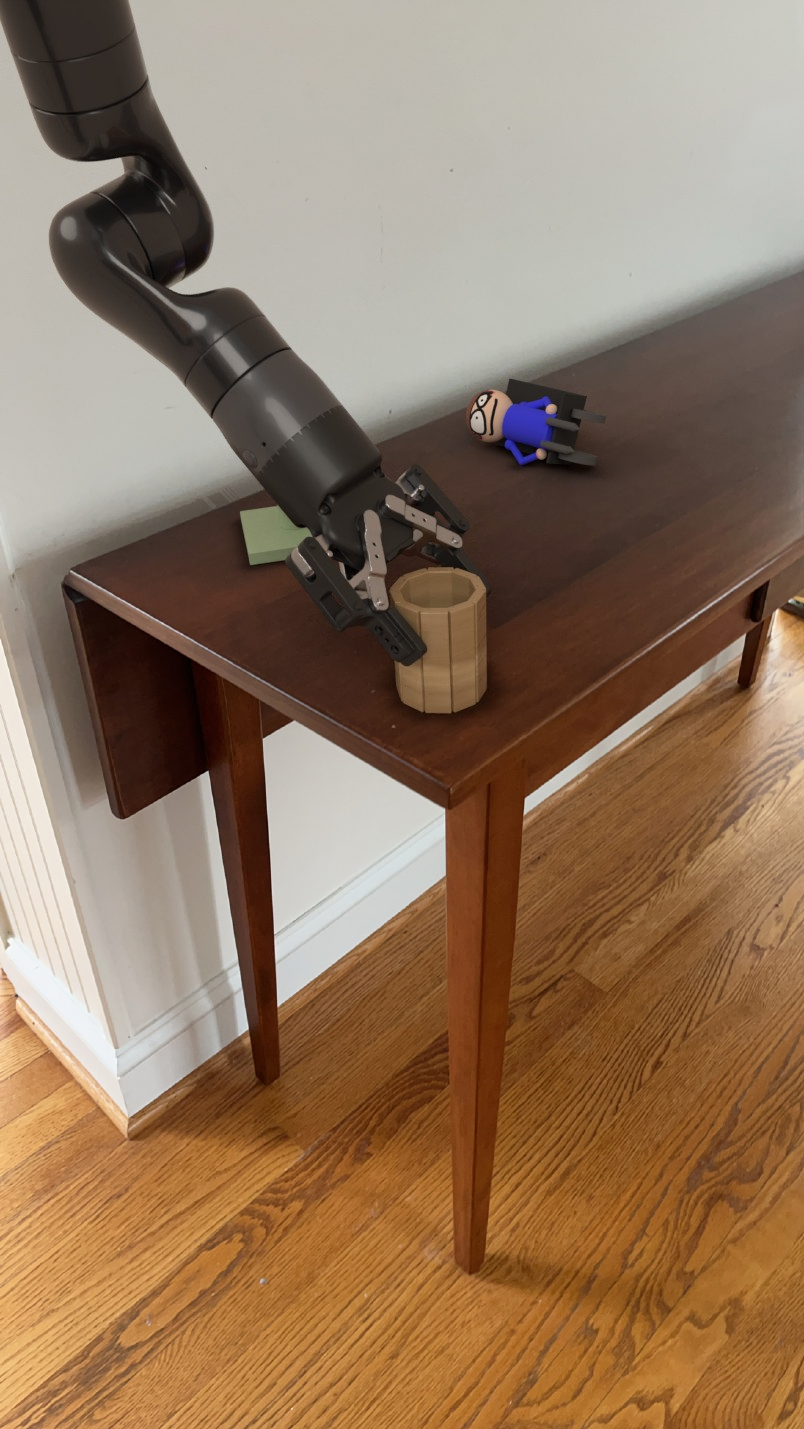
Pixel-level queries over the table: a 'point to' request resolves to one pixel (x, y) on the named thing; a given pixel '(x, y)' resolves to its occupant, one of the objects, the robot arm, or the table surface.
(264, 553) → the stand
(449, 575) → the tan hollow cylinder
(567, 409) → the character figurine
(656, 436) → the table surface
